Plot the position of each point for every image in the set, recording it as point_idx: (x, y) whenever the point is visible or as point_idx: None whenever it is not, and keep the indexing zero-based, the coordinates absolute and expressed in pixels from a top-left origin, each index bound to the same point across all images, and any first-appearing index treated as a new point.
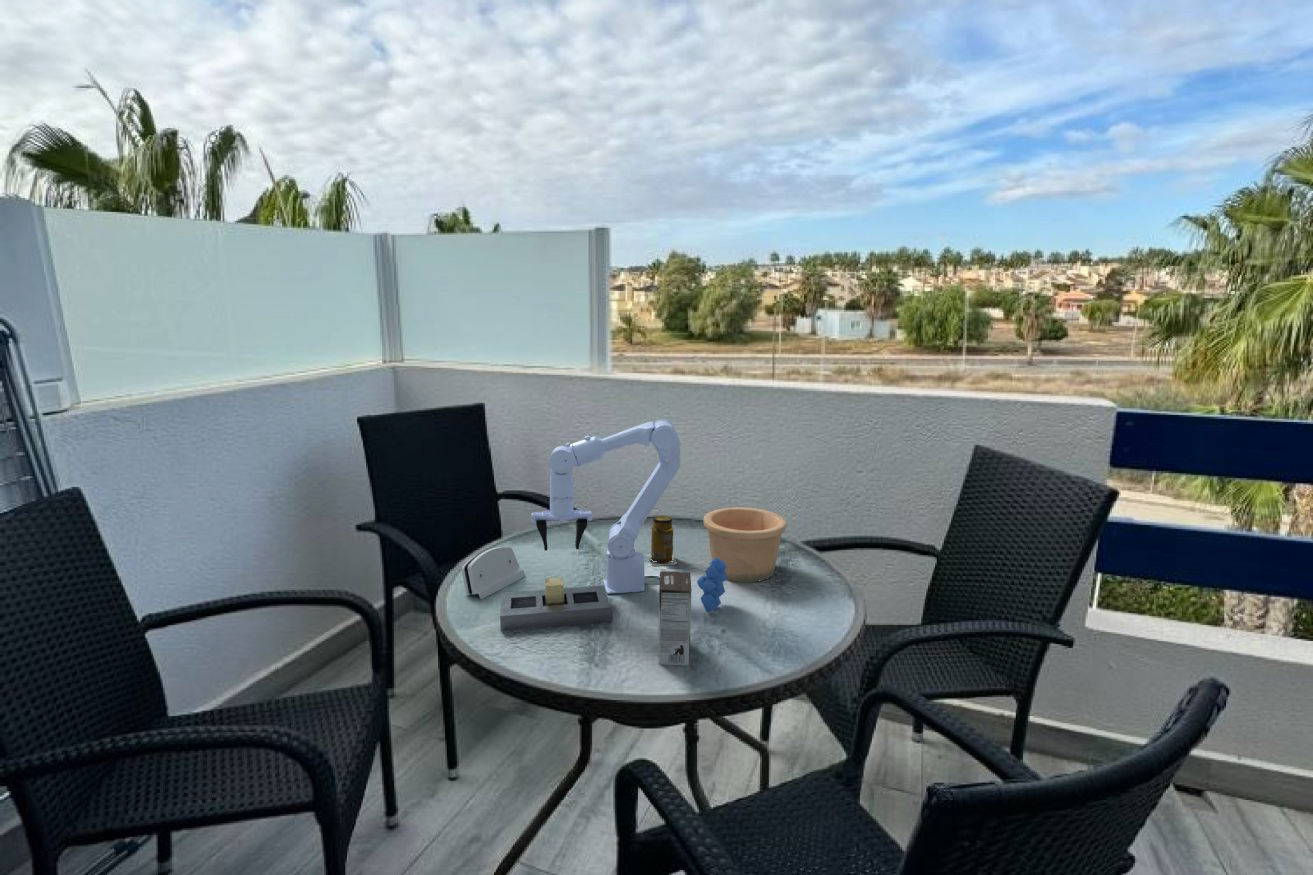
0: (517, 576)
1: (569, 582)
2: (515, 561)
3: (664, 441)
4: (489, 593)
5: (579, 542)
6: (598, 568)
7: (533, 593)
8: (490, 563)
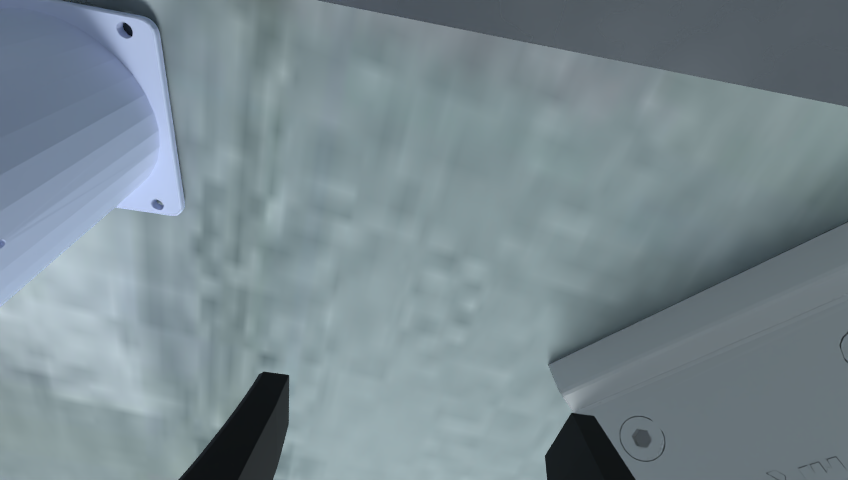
0: (597, 358)
1: (374, 256)
2: None
3: None
4: (794, 255)
5: (220, 435)
6: (212, 343)
7: (741, 17)
8: (803, 426)
